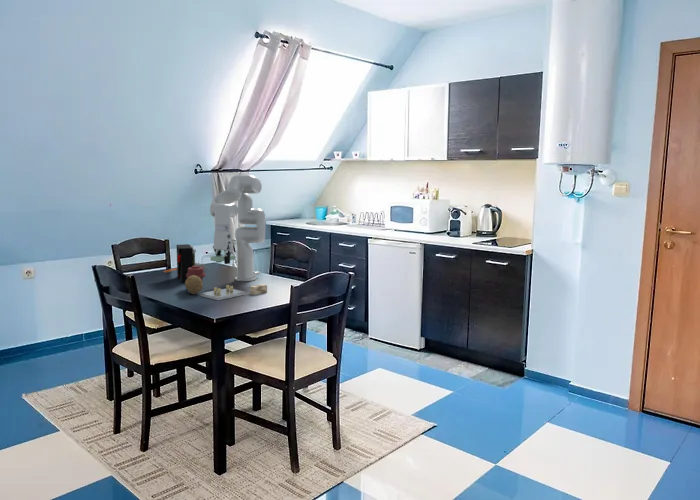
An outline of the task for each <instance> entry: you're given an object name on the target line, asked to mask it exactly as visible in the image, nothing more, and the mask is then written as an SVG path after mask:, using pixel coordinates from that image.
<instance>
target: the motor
mask: <svg viewBox="0 0 700 500" xmlns="http://www.w3.org/2000/svg"><path fill="white" fill-rule="evenodd" d="M195 266H199V267H203V268H204V271H205V270H206V269H207V270H209V267H207V266H206V264H205V263H200V262H195ZM176 270H177V267H176V268H171V269H167V270H163V271H162V272H164V273H169V272H172V271H176Z"/></svg>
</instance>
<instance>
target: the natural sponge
mask: <svg viewBox="0 0 700 500" xmlns="http://www.w3.org/2000/svg"><path fill="white" fill-rule="evenodd" d="M202 284H203V285H204V283H202V280H201V278H200V277H198V276H196V275H192V276H190V277H188V278H187V279H186V281H185V283H184V285H185V288H186V290H187V291H188V292H189V293H190V294H192V295H196V294H198V293H200V292H201V291H202V290H203V285H202Z"/></svg>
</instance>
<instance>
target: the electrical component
mask: <svg viewBox="0 0 700 500" xmlns="http://www.w3.org/2000/svg"><path fill="white" fill-rule="evenodd" d="M196 252H197V250H196V249H195V248H194V246H193V245H192V244H189V243H188V244H176V268H177V271H176V274H177V275H176V276H177V277H178V278H177V280H180V282H181V284H185V281H186V279H187V277H186V274H187V273H188V268H190V267H192V266H195V263H196V254H195V253H196Z"/></svg>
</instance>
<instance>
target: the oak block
mask: <svg viewBox="0 0 700 500" xmlns="http://www.w3.org/2000/svg"><path fill="white" fill-rule="evenodd" d="M265 293H268V284H264V283H261V284H256V285H251V286H249V294H250V295H253V296H255V295H260V294H265Z"/></svg>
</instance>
